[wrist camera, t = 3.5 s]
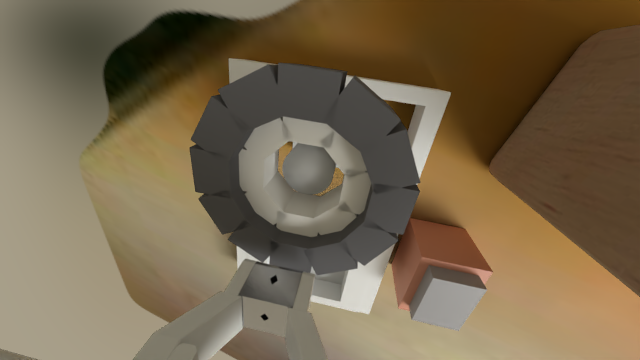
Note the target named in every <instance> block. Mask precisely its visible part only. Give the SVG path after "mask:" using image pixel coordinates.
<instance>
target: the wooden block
mask: <svg viewBox="0 0 640 360" xmlns="http://www.w3.org/2000/svg"><path fill="white" fill-rule="evenodd" d="M489 171H490V173H491V174H492V175H493V176H494V177H495V178H496V179H497V180H498V181H499V182H501V183H502V184H503V185H504V186H505V187H507V188H508V189H509V190H510V191H512V192H513V193H514V194H515V195H516V196H518V197H519V198H520V199H521V200H523V201H524V202H525V203H526V204H527V205H529V206H530V207H531V208H532V209H534V210H535V211H536V212H537V213H538V214H540V215H541V216H542V217H543V218H544V219H546V220H547V221H548V222H549V223H551V224H552V225H553V226H554V227H555V228H557V229H558V230H559V231H560V232H562V233H563V234H564V235H565V236H566V237H568V238H569V239H570V240H571V241H572V242H574V243H575V244H576V245H577V246H579V247H580V248H581V249H582V250H583V251H585V252H586V253H587V254H588V255H590V256H591V257H592V258H593V259H594V260H596V261H597V262H598V263H599V264H600V265H602V266H603V267H604V268H605V269H607V270H608V271H609V272H610V273H611V274H613V275H614V276H615V277H616V278H618V279H619V280H620V281H621V282H622V283H624V284H625V285H626V286H627V287H629V288H630V289H631V290H632V291H633V292H635V293H636V294H637V295H638V296H639V297H640V25H634V26H628V27H622V28H615V29H609V30H602V31H599V32H598V33H596V34H594V35H592V36H591V37H589V38H588V39H587V40H586V41H585V42H583V43H582V44H581V45H580V46H579V47H578V49H577V50H576V51H575V52H574V54H573V55H572V56H571V58H570V59H569V60H568V62H567V63H566V64H565V65H564V67H563V68H562V69H561V71H560V72H559V73H558V75H557V76H556V77H555V78H554V80H553V81H552V82H551V84H550V85H549V86H548V88H547V89H546V90H545V91H544V93H543V94H542V95H541V97H540V98H539V99H538V100H537V102H536V103H535V104H534V106H533V107H532V108H531V110H530V111H529V112H528V113H527V115H526V116H525V117H524V119H523V120H522V121H521V123H520V124H519V125H518V126H517V128H516V129H515V130H514V132H513V133H512V134H511V136H510V137H509V138H508V139H507V141H506V142H505V143H504V145H503V146H502V147H501V149H500V150H499V151H498V152H497V154H496V155H495V156H494V158H493V159H492V160H491V163H490V166H489Z"/></svg>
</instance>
